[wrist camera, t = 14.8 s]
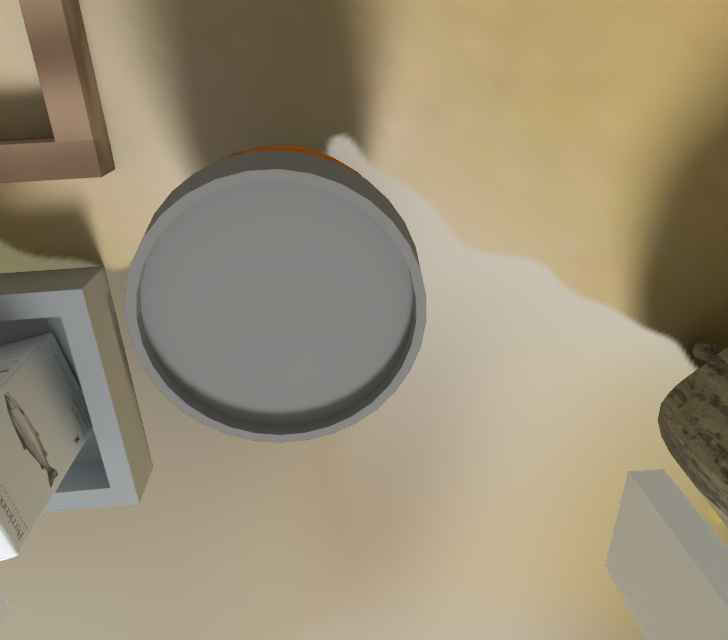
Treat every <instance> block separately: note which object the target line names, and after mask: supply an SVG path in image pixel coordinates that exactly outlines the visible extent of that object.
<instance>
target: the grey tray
mask: <svg viewBox="0 0 728 640" xmlns="http://www.w3.org/2000/svg"><path fill="white" fill-rule="evenodd" d="M47 333H53V334H54V336H55V338H56V340H57V342H58V345H59V347H60V349H61V351H62V353H63V355H64V357H65V359H66V361H67V363H68V365H69V367H70V369H71V371H72V373H73V375H74V377H75V379H76V381H77V383H78V385H79V387H80V389H81V390H82V392H83V395H84V398H85V402H86V405H87V408H88V412H89V415H90V419H91V422H92V426H93V429H92V430H91V432H90V434H89V435H88V437H87V439H86V441H85V442H84V444H83V446H82V447H81V449H80V451H79V452H78V454H77V456H76V457H75V459H74V461H73V462H72V464H71V466H70V467H69V469H68V471H67V472H66V474H65V476H64V478H63V479H62V481H61V483H60V484H59V486H58V488H57V489H56V491H55V493H54V495H53V496H52V498H51V500H50V501H49V503H48V505H47V506H46V508H45V510H44V511H43V513H48V512H59V511H69V510H80V509H90V508H100V507H110V506H120V505H131V504H139V503H140V501H141V498H142V495H143V493H144V490H145V487H146V484H147V482H148V479H149V476H150V474H151V471H152V468H153V464H152V460H151V456H150V452H149V448H148V443H147V439H146V435H145V431H144V427H143V423H142V419H141V415H140V411H139V407H138V402H137V398H136V395H135V390H134V386H133V382H132V378H131V374H130V370H129V366H128V362H127V358H126V353H125V349H124V345H123V341H122V337H121V333H120V330H119V325H118V321H117V317H116V313H115V309H114V304H113V301H112V297H111V292H110V288H109V284H108V280H107V276H106V272H105V268H104V266H102V267H88V268H74V269H61V270H45V271H31V272H16V273H2V274H0V345H3V344H7V343H12V342H15V341H19V340H23V339H27V338H31V337H35V336H39V335H44V334H47Z"/></svg>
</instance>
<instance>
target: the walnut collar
mask: <svg viewBox="0 0 728 640" xmlns="http://www.w3.org/2000/svg"><path fill="white" fill-rule="evenodd" d="M19 3H20V7H21V11H22V15H23V19H24V22H25V26H26V30H27V34H28V38H29V42H30V46H31V50H32V53H33V57H34V61H35V65H36V69H37V73H38V77H39V81H40V84H41V88H42V92H43V96H44V100H45V104H46V108H47V112H48V115H49V119H50V123H51V127H52V131H53V135H54V137H48V138H30V139H12V140H0V183H8V182H25V181H42V180H59V179H76V178H93V177H103V176H104V175H106V174H108V173H109V172H111V171H113V170H115V166H114V162H113V157H112V152H111V148H110V143H109V139H108V134H107V130H106V125H105V121H104V116H103V112H102V107H101V102H100V98H99V93H98V89H97V84H96V80H95V75H94V71H93V66H92V62H91V57H90V52H89V48H88V43H87V39H86V34H85V30H84V25H83V21H82V16H81V12H80V7H79V2H78V0H19Z"/></svg>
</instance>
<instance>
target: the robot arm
mask: <svg viewBox="0 0 728 640" xmlns="http://www.w3.org/2000/svg"><path fill="white" fill-rule="evenodd" d="M605 566H606V568H607V570H608V572H609V574H610V576H611V577H612V579H613V581H614V583H615V585H616V587H617V588H618V590H619V592H620V594H621V595H622V597H623V599H624V601H625V602H626V604H627V606H628V608H629V610H630V612H631V614H632V615H633V617H634V619H635V621H636V622H637V624H638V626H639V628H640V630H641V631H642V633H643V635H644V637H645V639H646V640H728V548H727V546H726V545H725V544H724V543H723V541H722V540H721V539H720V538H719V537H718V535H717V534H716V533H715V532H714V530H713V529H712V528H711V527H710V526H709V524H708V523H707V522H706V521H705V519H704V518H703V517H702V516H701V515H700V513H699V512H698V511H697V510H696V508H695V507H694V506H693V505H692V503H691V502H690V501H689V500H688V499H687V497H686V496H685V495H684V494H683V493H682V491H681V490H680V489H679V488H678V486H677V485H676V484H675V483H674V481H673V480H672V479H671V478H670V477H669V475H668V474H667V473H666V472H665V470H664V469H662V470H645V471H630V472H628V474H627V479H626V482H625V486H624V491H623V495H622V499H621V503H620V507H619V511H618V516H617V519H616V523H615V528H614V532H613V536H612V540H611V544H610V548H609V552H608V557H607V560H606V565H605ZM9 610H10V609H9V607H8V604H7V602H6V599H5V597H4V594H3V592H2V590H1V587H0V627H1V626H2V624H3V622H4V620H5V618H6V616H7V614H8V613H9Z"/></svg>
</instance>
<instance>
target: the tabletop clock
mask: <svg viewBox="0 0 728 640" xmlns="http://www.w3.org/2000/svg"><path fill="white" fill-rule="evenodd" d="M692 352H693V355H694V357H695V358H696V359H698V360H700V361H708V362H707V363H705V364H704V365H703V366H701V367H700V368H699V369H697V370H696V371H695V372H693V373H692V374H691V375H689V376H688V377H687V378H685V379H684V380H683V381H681V382H680V383H679V384H678V385H677V386H675V388H674V389H673V390H672V391H670V393H669V394H668V395H667V396H666V398H665V399H664V401H663V402H662V403H661V407H660V412H659V417H658V423H659V428H660V432H661V436H662V438H663V440H664V442H665V444H666V446H667V448H668V449H669V451H670V453H671V455H672V456H673V457H674V459H675V460H676V461H677V463H678V464H679V465H680V467H681V468H682V469H683V470H684V472H685V473H686V474H687V476H688V477H689V478H690V480H691V481H692V482H693V483H694V485H695V486H696V487H697V489H698V490H699V491H700V493H701V494H702V495H703V496H704V498H705V499H706V500H707V502H708V503H709V504H710V505H711V507H712V508H713V509H714V511H715V512H716V513H717V514H718V516H719V517H720V518H721V519H722V521H723V522H724V523H725V525H726V526H727V527H728V347H727V348H726V349H724V350H723V351H721V352H720V353H719V354H717V353H718V350H717V347H716V345H715V344H714V343H713V342H711V341H708V340H700V341H698V342H696V343H695V344H694V346H693V349H692Z"/></svg>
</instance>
